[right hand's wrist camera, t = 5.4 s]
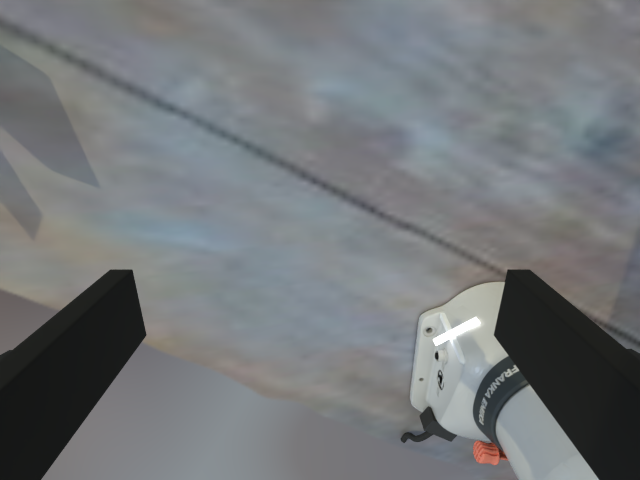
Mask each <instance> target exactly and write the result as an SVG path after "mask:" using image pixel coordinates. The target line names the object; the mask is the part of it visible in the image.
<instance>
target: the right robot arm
mask: <svg viewBox="0 0 640 480" xmlns="http://www.w3.org/2000/svg"><path fill="white" fill-rule="evenodd" d="M145 336H146V331H145V326H144V322H143V317H142V312H141V308H140V303H139V299H138V294H137V289H136V285H135V280H134V275H133V271H132V270H109V271H108V272H107V273H106V274H105V275H103V276H102V277H101V278H100V279H98V280H97V281H96V282H95V283H94V284H92V285H91V286H90V287H89V288H87V289H86V290H85V291H84V292H83V293H81V294H80V295H79V296H78V297H77V298H75V299H74V300H73V301H72V302H70V303H69V304H68V305H67V306H66V307H64V308H63V309H62V310H61V311H60V312H58V313H57V314H56V315H55V316H53V317H52V318H51V319H50V320H49V321H47V322H46V323H45V324H44V325H42V326H41V327H40V328H39V329H38V330H36V331H35V332H34V333H33V334H32V335H30V336H29V337H28V338H27V339H25V340H24V341H23V342H22V343H21V344H19V345H18V346H17V347H16V348H14V349H13V350H9V351H7V352H5V353H3V354H2V355H0V480H41V479H42V478H43V476H44V475H45V473H46V472H47V471H48V469H49V468H50V467H51V465H52V464H53V462H54V461H55V460H56V458H57V457H58V456H59V454H60V453H61V452H62V450H63V449H64V447H65V446H66V445H67V443H68V442H69V441H70V439H71V438H72V436H73V435H74V434H75V432H76V431H77V430H78V428H79V427H80V425H81V424H82V423H83V421H84V420H85V419H86V417H87V416H88V414H89V413H90V412H91V410H92V409H93V408H94V406H95V405H96V404H97V402H98V401H99V399H100V398H101V397H102V395H103V394H104V393H105V391H106V390H107V388H108V387H109V386H110V384H111V383H112V382H113V380H114V379H115V378H116V376H117V375H118V373H119V372H120V371H121V369H122V368H123V367H124V365H125V364H126V362H127V361H128V360H129V358H130V357H131V356H132V354H133V353H134V351H135V350H136V349H137V347H138V346H139V345H140V343H141V342H142V341H143V339H144V338H145ZM494 336H495V338H496V339H497V341H498V342H499V343H500V345H501V346H502V347H503V349H504V350H505V352H506V353H507V354H508V356H509V357H510V358H511V360H512V361H513V362H514V364H515V365H516V367H517V368H518V369H519V371H520V372H521V373H522V375H523V376H524V378H525V379H526V380H527V382H528V383H529V384H530V386H531V387H532V389H533V390H534V391H535V393H536V394H537V395H538V397H539V398H540V399H541V401H542V402H543V404H544V405H545V406H546V408H547V409H548V410H549V412H550V413H551V415H552V416H553V417H554V419H555V420H556V421H557V423H558V424H559V426H560V427H561V428H562V430H563V431H564V432H565V434H566V435H567V436H568V438H569V439H570V441H571V442H572V443H573V445H574V446H575V447H576V449H577V450H578V452H579V453H580V454H581V456H582V457H583V458H584V460H585V461H586V462H587V464H588V465H589V467H590V468H591V469H592V471H593V472H594V473H595V475H596V476H597V478H598V479H599V480H640V353H638V352H636V351H634V350H632V349H626V348H624V347H623V346H622V345H621V344H619V343H618V342H617V341H616V340H615V339H613V338H612V337H611V336H610V335H608V334H607V333H606V332H605V331H604V330H602V329H601V328H600V327H599V326H598V325H596V324H595V323H594V322H593V321H591V320H590V319H589V318H588V317H587V316H585V315H584V314H583V313H582V312H580V311H579V310H578V309H577V308H576V307H574V306H573V305H572V304H571V303H570V302H568V301H567V300H566V299H565V298H563V297H562V296H561V295H560V294H559V293H557V292H556V291H555V290H554V289H553V288H551V287H550V286H549V285H548V284H546V283H545V282H544V281H543V280H542V279H540V278H539V277H538V276H537V275H535V274H534V273H533V272H532V271H531V270H508V271H507V275H506V280H505V285H504V289H503V294H502V299H501V303H500V308H499V312H498V317H497V322H496V326H495V331H494Z"/></svg>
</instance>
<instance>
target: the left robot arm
mask: <svg viewBox="0 0 640 480" xmlns="http://www.w3.org/2000/svg"><path fill="white" fill-rule="evenodd" d="M504 285H505V282H489V283H484V284H480V285H477V286H474V287H471V288H469V289H467V290H465V291H463V292H462V293H460V294H458V295H457V296H456V297H454V298H453V299H452V300H450V301H449V302H448V303H446V304H445V305H443V306H440V307H437V308H434V309H431V310H429V311H426V312H425V313H423V314H422V315H421V316H420V318H419V322H418V331H417V339H416V347H415V356H414V364H413V372H412V380H411V389H410V401H411V404H412V405H413V406H414V407H415V408H416V409H417V410H419V411H421V412H422V414H421V415H420V419H421V422H422V425H423V428H424V431H426V432H425V433H423V434H421V435H418V436H415V435H413V434H412V433H405V434H404V435H403V436H402V438H401V441H402V442H403V443H405V442H406V440H407V439H408V438H409V439H411V440H412V441H415V442H420V441H423V440H425V439H427V438H429V437H430V436H432V435H433V434H434V435H436V436H439V437H441V438H444V439H446V440H448V441H452V440H453V439H454V438H455V437H456V436H457V435H459V436H462V437H466V438H470V439H476V440H483V441H491V442H492V443H485V442H482V441H476V442H475V443H474V447H473V450H474V455H475V459H476V461H477V462H479V463H491V464H493V465H497V464H498V463H499V460H500V459H502V460H509V462H510V464H511V466H512V468H513V470H514V472H515V474H516V476H517V478H518V480H599V479H598V478H597V476H596V475H595V473H594V472H593V471H592V469H591V468H590V467H589V465H588V464H587V462H586V461H585V460H584V458H583V457H582V456H581V454H580V453H579V452H578V450H577V449H576V447H575V446H574V445H573V443H572V442H571V441H570V439H569V438H568V436H567V435H566V434H565V432H564V431H563V430H562V428H561V427H560V426H559V424H558V423H557V421H556V420H555V419H554V417H553V416H552V415H551V413H550V412H549V410H548V409H547V408H546V406H545V405H544V404H543V402H542V401H541V399H540V398H539V397H538V395H537V394H536V393H535V391H534V390H533V389H532V387H531V386H530V384H529V383H528V382H527V380H526V379H525V378H524V376H523V375H522V373H521V372H520V371H519V369H518V368H517V367H516V365H515V364H514V362H513V361H512V360H511V358H510V357H509V356H508V354H507V353H506V352H505V350H504V349H503V347H502V346H501V345H500V343H499V342H498V341H497V339H496V338H495V336H494V331H495V326H496V322H497V317H498V312H499V308H500V303H501V299H502V294H503V289H504ZM427 328H431V329H429V330H426V329H427Z"/></svg>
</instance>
